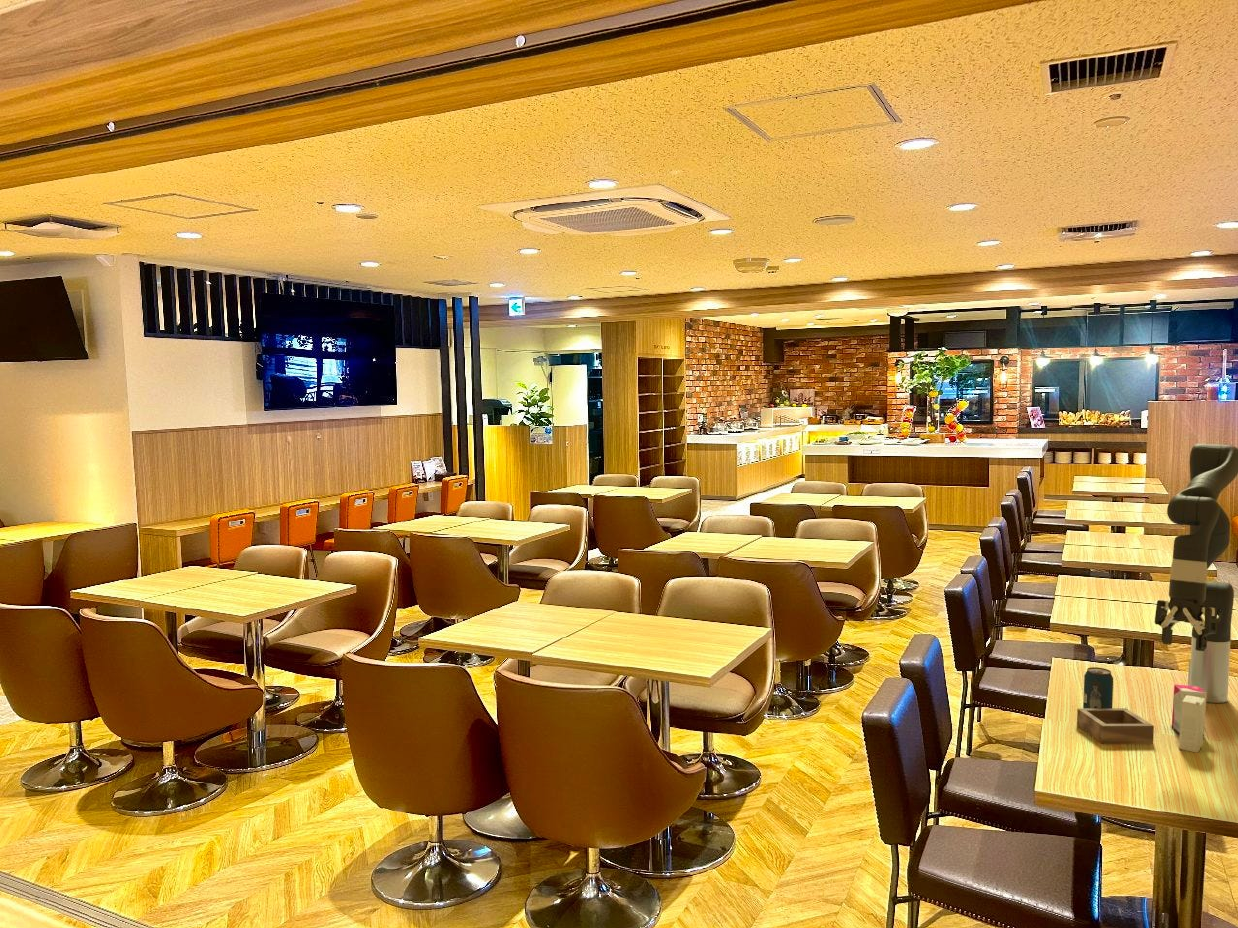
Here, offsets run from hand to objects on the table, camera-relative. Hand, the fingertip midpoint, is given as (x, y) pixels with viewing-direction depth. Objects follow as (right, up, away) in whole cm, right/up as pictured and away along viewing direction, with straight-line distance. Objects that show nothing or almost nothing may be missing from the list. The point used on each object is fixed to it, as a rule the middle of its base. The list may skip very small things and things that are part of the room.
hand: (1183, 647), depth 222 cm
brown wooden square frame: (-9, -25, +14) cm, 30 cm away
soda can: (-6, -24, +28) cm, 38 cm away
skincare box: (+5, -26, +5) cm, 26 cm away
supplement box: (+10, -25, +15) cm, 31 cm away
